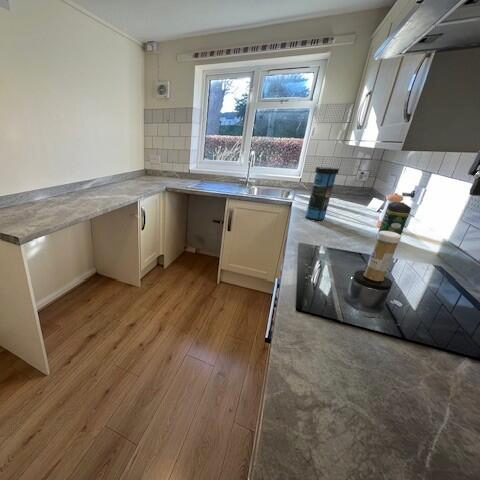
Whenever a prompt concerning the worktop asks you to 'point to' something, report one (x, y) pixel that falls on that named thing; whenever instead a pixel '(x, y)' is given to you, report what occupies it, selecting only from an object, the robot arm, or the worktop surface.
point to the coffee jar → (395, 217)
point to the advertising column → (321, 193)
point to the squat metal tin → (368, 293)
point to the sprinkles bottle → (382, 255)
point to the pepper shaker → (390, 199)
